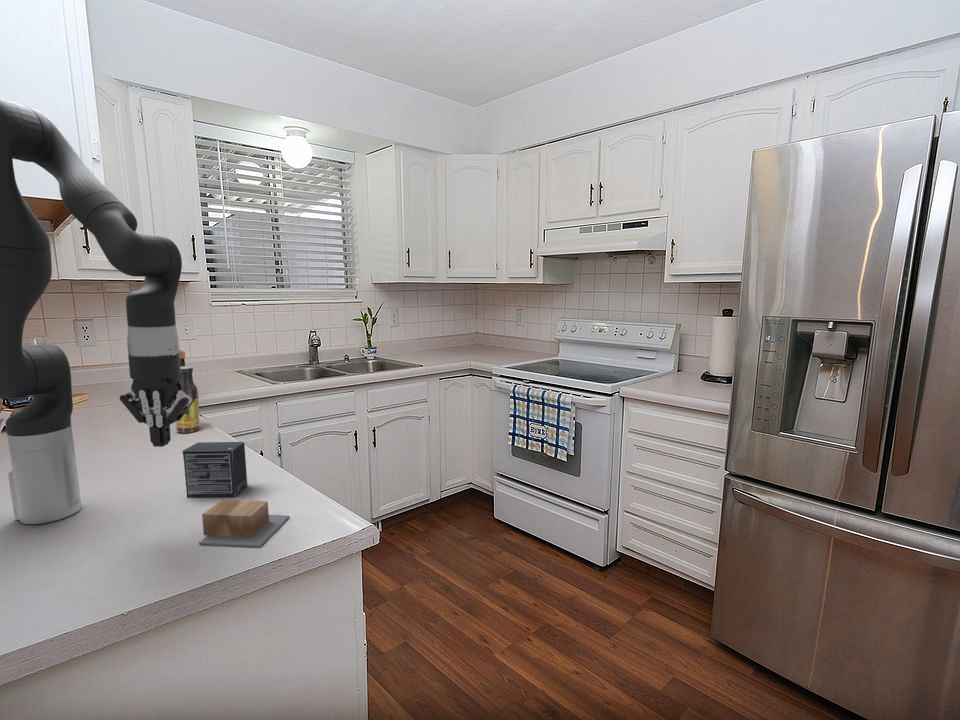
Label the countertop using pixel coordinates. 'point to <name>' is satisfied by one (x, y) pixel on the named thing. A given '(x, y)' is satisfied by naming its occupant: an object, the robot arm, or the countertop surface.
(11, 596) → the countertop surface
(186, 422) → the sauce bottle
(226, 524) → the walnut block
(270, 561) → the countertop surface
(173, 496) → the countertop surface
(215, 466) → the small box
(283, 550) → the countertop surface
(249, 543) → the mat
